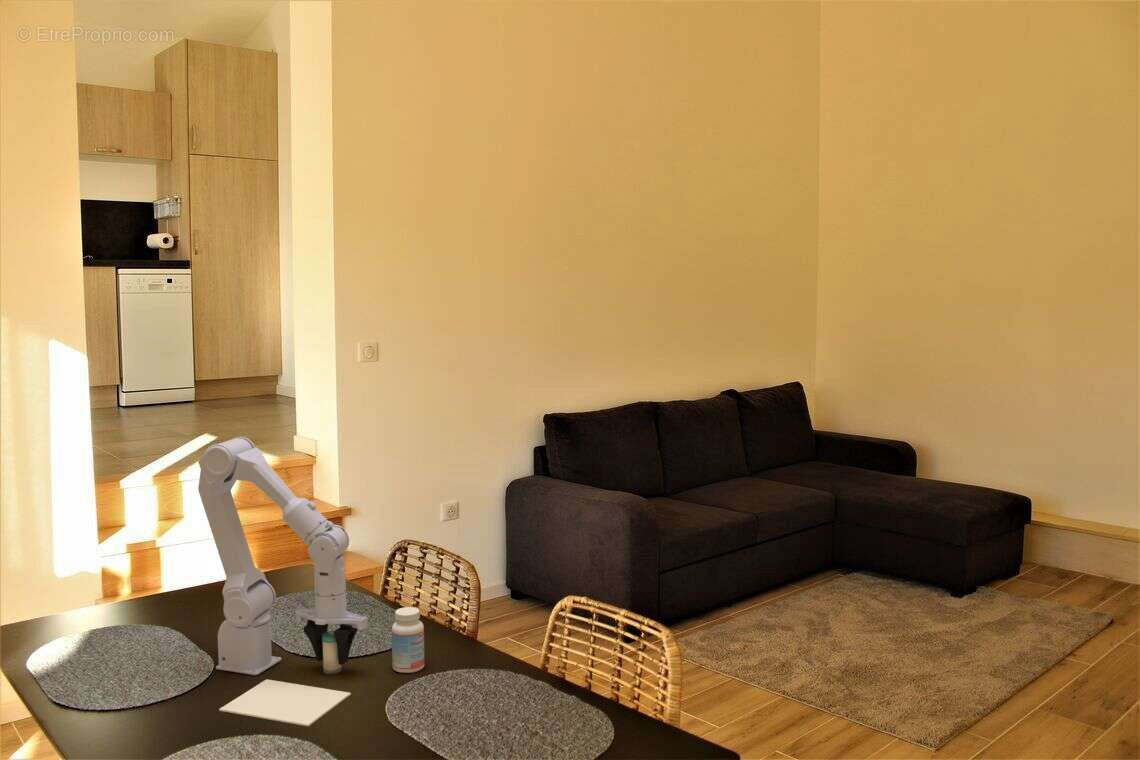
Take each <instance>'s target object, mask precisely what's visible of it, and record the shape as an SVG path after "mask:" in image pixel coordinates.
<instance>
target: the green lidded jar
mask: <svg viewBox="0 0 1140 760" xmlns="http://www.w3.org/2000/svg"><path fill="white" fill-rule="evenodd" d="M334 631H335V630H330V631H328V630H327V632H325V633H323V634H322V641H323V660H322V665H323V666H322V667H323V673H324V675H336V674H339V673H341V672H342V670H343V666H342V665H340V664H339V662H338V648H337V643H336V639H335V636H334Z"/></svg>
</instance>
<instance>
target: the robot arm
mask: <svg viewBox="0 0 1140 760" xmlns="http://www.w3.org/2000/svg"><path fill="white" fill-rule="evenodd" d="M198 465H199V468H200V472H199V479H198V487H197V488H198V493H199V497H200V500H201V503H202V506H203V508H204V513H205V515H206V518H207V521H208V525H209V527H210V531H211V534H212V537H213V540H214V542H215V546H216V549H217V552H218V556H219V558H220V562H221V565H222V568H223V570H224V574H225V576H226V579H225V582H224V586H223V587H222V593H221V594H222V596H223V607H222V608H223V609H222V610H223V615H224V617H225V620H224V621H222V623H221V625H219V628H218V631H217V650H218V651H217V653H218V655H217V656H218V665H216V666H215V669H216V670H220V671H227V672H234V673H239V674H244V675H251V676H257V675H259V674H261V673H263V672H264V671H266V670H267V669H270V668H271V667H273V666H274V665H276V664H278V663H279V662H281V661H282V657H280V656H273V655H272V633H271V632H272V629H271V628H272V627H271V609H272V608H273V606H274V605H275V602H276V600H277V599H276V597H277V594H276V591H275V588H274V587H273V586H272V585H271V584H270V583H269V581H268V580H267V578H266V575H265V573H264V571H262V570H261V569H259V568H258V567H256V566H255V562H254V559H253V556H252V553H251V550H250V547H249V543H248V541H247V537H246V534H245V532H244V528H243V525H242V522H241V519H240V516H239V513H238V510H237V507H236V503H235V500H234V496H233V494H232V488H233V486H234V485H235V484H236V482H237V481H244V482H251V483H253V484H254V485H255V486H256V487H257V488H258V489H260V490H261V492H263V493H264V494H265V495H266V496H267V497H268V498H269V499H270V500H271V501H273V503H275V505H277V506H278V507H279V508H280V509H281V510H282V520H283V521H284V522H285V523H286V524H287V525H288V527H290V529H292V531H294V533H295V534H296V535H297V536H298V537H299V538H300V540H302V541H303V542H304V544H306V545H307V546H309V547H307V553H308V555H309V557H310V559H311V560H312V562H313V575H314V576H313V579H314V583H313V584H314V608H300V609H298V610H295V622H298V623H299V622H306V625H305V626H303V632H304V634H305V635H306V636H307V638H308V639H309V641H310V643H311V647H312V649H313V651H314V654H315V655H314V656H315V659H316V662H322V661H323V641H322V634H323V633H325V632H328V628H329V625H330V626H331V625H332V626H339V627H338V628H337V629H335V630H333V631H334V636H335V639H336V643H337V648H338V662H339V664H340V665H344V664H346V663H348V661H349V654H350V652H351V651H350V650H351V648H352V645H353V641H354V639H355V636H356V634H357V632H358V631H363V630H364V629H366V628H368V617H367V616H364V615H360V614H356V613H354V612H352V611H348V610H347V588H346V587H347V584H346V557H345V556H346V553H345V552H346V551H347V549H348V548H349V545H350V538H349V535H348V532H347V531H346V530H345V528H344V527H342V526H341V525H338V524H334V523H333V522H332V521H331V520H328V519H327V518H326V517H325V516H324V515H323V514H322V513H321V512H320V511H319V510H318V508H316V507H317V504H316V503H315V501H313V500H311V501H310V500H309V499H308V498H306V497H304V498H303V497H297V496H296V494H295V493H294V492H293V491H292V490H291V489H290V487H289V486H287V484H286V483H285V481H284V480H282V478H281V477H280V476H279V475H278V473H277V472H276V471H275V470H274V468H273V467H272V466H271V464H269V463H268V462H267V460H266V458H265V455H264V454H263V451H262V450H260V449H259V448H258V447H256V446H255V444H254V442H253V441H252V440H250V439H249V438H247V437H244V436H236V437H233V438H231V439H229V440H226V441H223V442H220V443H215V444H212V445H210V446H208V447H207V448H206V449H205V450H204V452H203V453H202V455H201V456H200V457H199V459H198Z"/></svg>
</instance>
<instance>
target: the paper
mask: <svg viewBox="0 0 1140 760" xmlns="http://www.w3.org/2000/svg"><path fill="white" fill-rule="evenodd" d="M351 695H352V693H351V692H349V691H341V690H334V689H329V688H324V687H317V686H312V685H311V686H310V685H305V684H298V683H291V682H286V681H285V682H284V681H279V680H273V679H265V680H263V681H261V682H259V684H257V685H255V686H254V687H252V688H250V689H249V690H246V692H244V693H243V694H241V695H239V696H238V697H236V698H235V699H233V700H232V701H230V702H228V703H227V704H225V705H224V706H221V707H220V708H219V709H218V710H219V712H223V713H231V714H237V715H242V716H249V717H253V718H258V719H264V720H268V721H269V720H270V721H274V722H275V721H276V722H281V723H287V724H293V725H298V726H304V727H310V726H311V725H312V724H314V723H315V722H316V721H317V720H319V719H320V718H322V717H323V716H324V715H326V714H327V713H328V712H329V711H331V710H332V709H334V708H335V707H336V706H337V705H339V704H340V703H342V702H343V701H344V700H345V699H347V698H348V697H350V696H351Z"/></svg>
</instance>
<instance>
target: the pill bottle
mask: <svg viewBox="0 0 1140 760" xmlns="http://www.w3.org/2000/svg"><path fill="white" fill-rule="evenodd" d="M420 617H421V613H420V609H419V608H417V607H413V606H405V607H401V608H397V609H396V610H395V613H394V618H395V622H394V623H393V624H392V625H391V655H392V656H391V659H392V664H391V665H392V669H393V670H394V671H395V672H396V673H403V674H404V673H407V674H408V673H409V674H411V673H416V672H419V671H421V670H422V669H423V668H424V667H425V628H424V623H423V622H422V621H421V620H419V619H420Z"/></svg>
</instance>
